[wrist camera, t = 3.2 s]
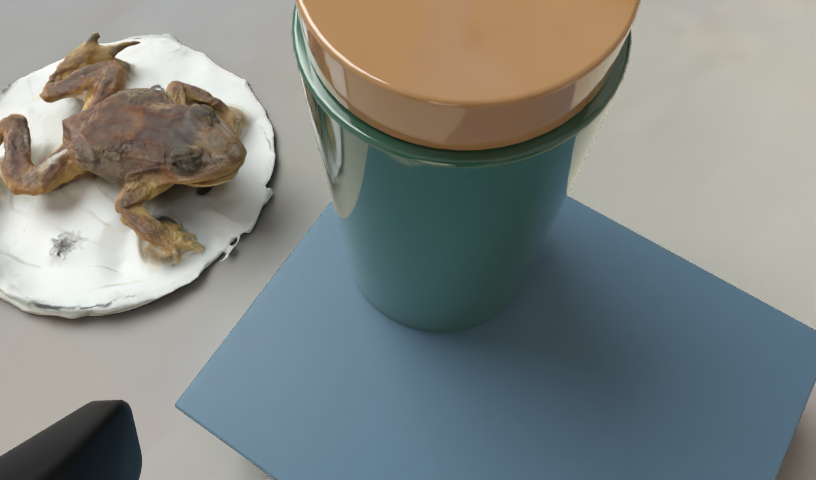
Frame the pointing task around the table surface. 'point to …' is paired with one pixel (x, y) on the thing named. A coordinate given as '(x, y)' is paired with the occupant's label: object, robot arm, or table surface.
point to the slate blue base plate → (513, 373)
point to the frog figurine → (125, 175)
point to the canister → (454, 138)
